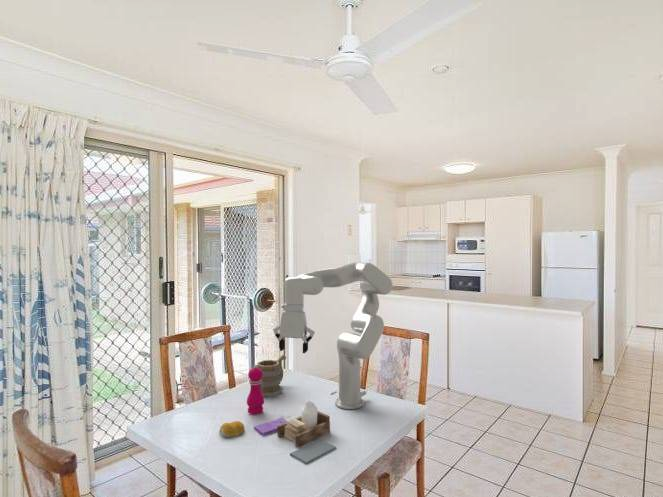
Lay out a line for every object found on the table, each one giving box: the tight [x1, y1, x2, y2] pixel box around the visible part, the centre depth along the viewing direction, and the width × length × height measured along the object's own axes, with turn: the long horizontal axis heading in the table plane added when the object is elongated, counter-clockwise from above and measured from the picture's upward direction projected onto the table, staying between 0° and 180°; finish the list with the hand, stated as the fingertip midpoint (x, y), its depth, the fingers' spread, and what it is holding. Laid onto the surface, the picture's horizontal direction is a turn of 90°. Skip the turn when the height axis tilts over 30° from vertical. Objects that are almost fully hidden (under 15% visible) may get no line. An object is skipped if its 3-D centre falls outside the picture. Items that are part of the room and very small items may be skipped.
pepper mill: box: [246, 364, 265, 416], centre depth 168 cm, size 7×7×20 cm
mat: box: [289, 438, 337, 465], centre depth 136 cm, size 14×8×1 cm, turn 136°
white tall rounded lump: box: [301, 400, 318, 430], centre depth 150 cm, size 6×12×6 cm
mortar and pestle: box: [256, 354, 287, 398], centre depth 193 cm, size 20×13×15 cm, turn 147°
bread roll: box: [219, 420, 245, 438], centre depth 149 cm, size 8×9×4 cm
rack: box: [276, 410, 331, 448], centre depth 148 cm, size 16×11×6 cm
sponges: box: [253, 417, 288, 437], centre depth 153 cm, size 7×13×2 cm, turn 127°
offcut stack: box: [284, 418, 306, 443], centre depth 145 cm, size 5×8×6 cm, turn 46°
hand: (293, 351), depth 157 cm, fingers open, 9 cm apart
